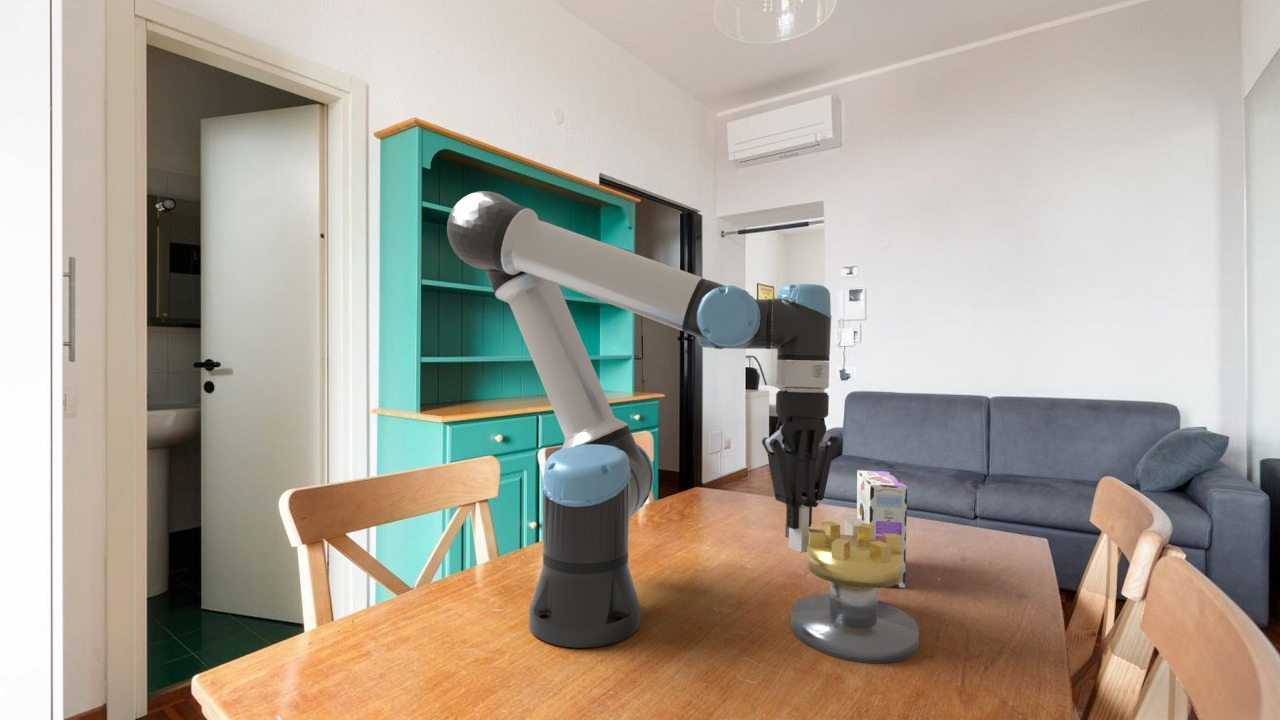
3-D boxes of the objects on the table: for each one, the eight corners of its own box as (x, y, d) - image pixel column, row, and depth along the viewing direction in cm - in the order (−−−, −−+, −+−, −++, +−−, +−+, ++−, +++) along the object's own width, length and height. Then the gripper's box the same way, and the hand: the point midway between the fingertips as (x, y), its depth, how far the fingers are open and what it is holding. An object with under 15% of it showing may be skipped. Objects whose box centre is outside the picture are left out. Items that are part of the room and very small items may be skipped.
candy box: (906, 589, 95) (908, 486, 95) (867, 586, 96) (869, 484, 96) (888, 560, 108) (890, 470, 108) (854, 557, 110) (856, 468, 109)
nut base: (807, 661, 72) (809, 562, 72) (774, 594, 92) (775, 517, 92) (941, 665, 71) (943, 565, 71) (879, 597, 91) (880, 519, 91)
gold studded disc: (757, 542, 91) (757, 510, 91) (822, 535, 95) (823, 504, 95) (847, 593, 72) (848, 551, 72) (924, 581, 76) (924, 542, 76)
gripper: (785, 391, 82) (780, 563, 82) (853, 391, 88) (849, 551, 88) (751, 388, 88) (747, 547, 88) (817, 388, 94) (813, 537, 94)
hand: (798, 549), depth 88 cm, fingers closed
